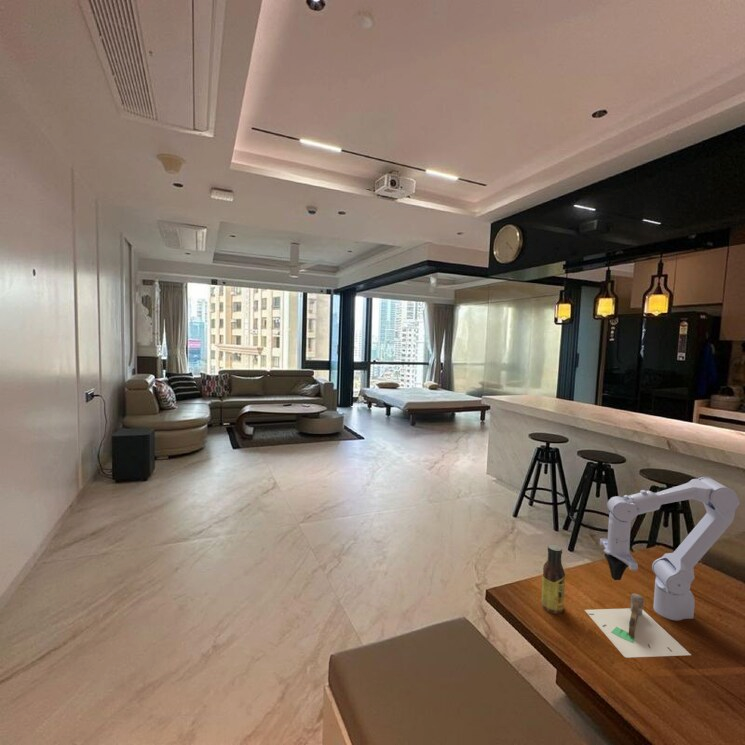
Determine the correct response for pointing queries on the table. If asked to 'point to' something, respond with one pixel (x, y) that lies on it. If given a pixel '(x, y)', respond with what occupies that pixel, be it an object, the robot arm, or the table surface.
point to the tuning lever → (635, 612)
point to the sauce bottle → (553, 581)
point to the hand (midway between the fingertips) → (616, 578)
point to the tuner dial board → (636, 634)
